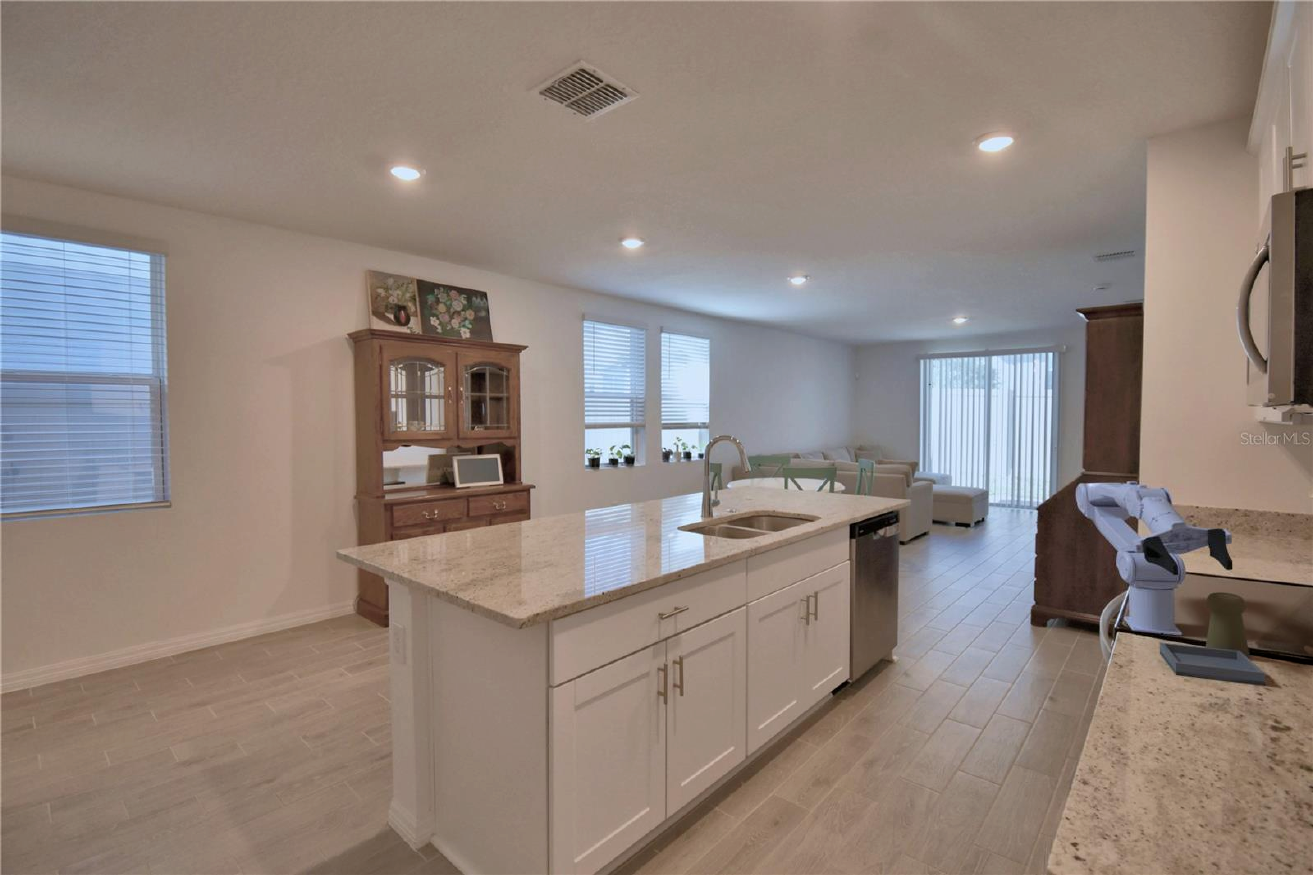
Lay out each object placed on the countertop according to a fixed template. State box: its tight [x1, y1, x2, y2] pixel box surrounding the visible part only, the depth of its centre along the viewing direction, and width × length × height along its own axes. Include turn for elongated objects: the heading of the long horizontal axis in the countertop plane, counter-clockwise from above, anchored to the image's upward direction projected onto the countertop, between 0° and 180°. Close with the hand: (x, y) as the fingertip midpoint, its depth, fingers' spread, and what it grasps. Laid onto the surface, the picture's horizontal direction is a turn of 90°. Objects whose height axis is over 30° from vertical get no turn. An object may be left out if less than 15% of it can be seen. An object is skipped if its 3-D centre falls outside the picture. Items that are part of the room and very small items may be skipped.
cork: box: [1205, 592, 1251, 660], centre depth 113 cm, size 6×6×11 cm
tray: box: [1159, 642, 1266, 687], centre depth 106 cm, size 11×11×2 cm
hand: (1202, 568), depth 109 cm, fingers open, 7 cm apart
